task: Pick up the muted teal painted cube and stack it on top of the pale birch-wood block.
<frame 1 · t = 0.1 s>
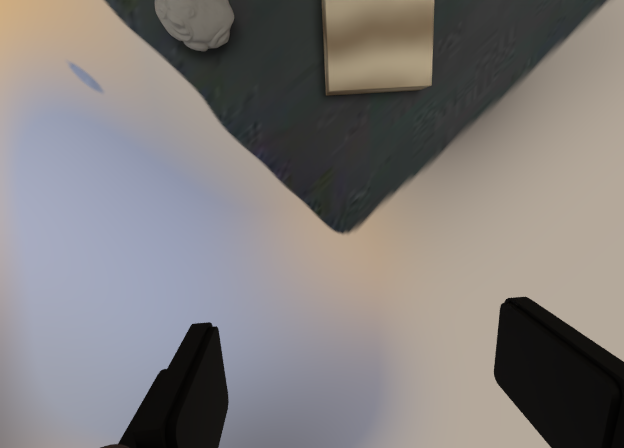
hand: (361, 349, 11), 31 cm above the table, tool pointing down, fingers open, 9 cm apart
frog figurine: (209, 29, 36), on the table
birch block: (371, 41, 37), on the table
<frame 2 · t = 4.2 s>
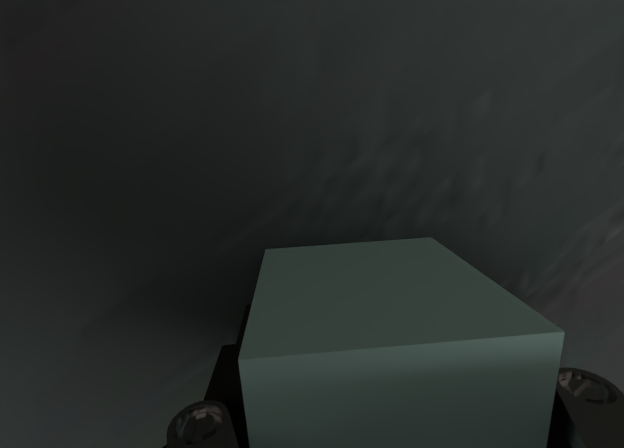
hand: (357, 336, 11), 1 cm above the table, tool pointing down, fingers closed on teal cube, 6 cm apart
teal cube: (351, 317, 12), on the table, touching gripper
when the fingers open (7 cm above the table, at t = 10.7 s): teal cube drops 2 cm, resting on birch block.
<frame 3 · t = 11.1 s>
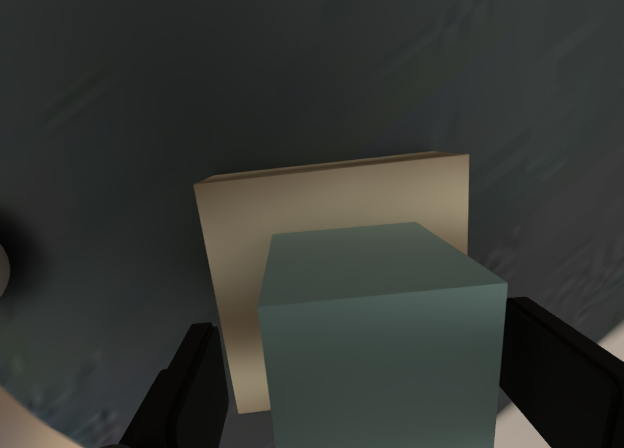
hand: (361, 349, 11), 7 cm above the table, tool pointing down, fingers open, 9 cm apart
teal cube: (348, 293, 14), point 3 cm above the table, touching birch block
birch block: (333, 262, 18), on the table, touching teal cube
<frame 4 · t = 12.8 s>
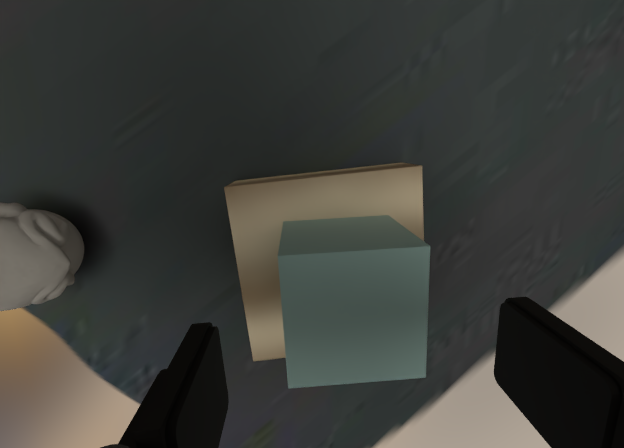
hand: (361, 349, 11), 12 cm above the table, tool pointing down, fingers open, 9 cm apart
teal cube: (337, 267, 19), point 4 cm above the table, touching birch block
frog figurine: (59, 238, 22), on the table
birch block: (326, 248, 23), on the table, touching teal cube
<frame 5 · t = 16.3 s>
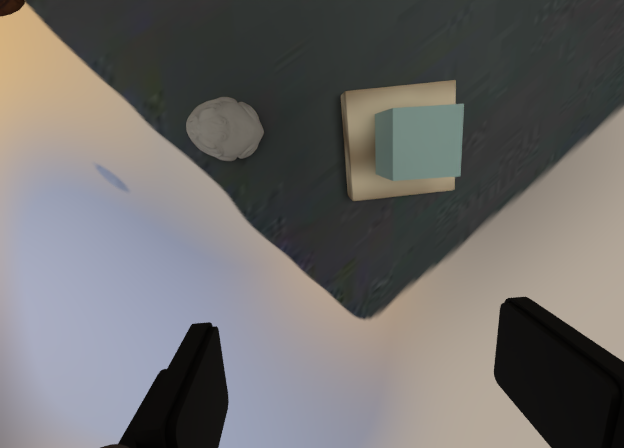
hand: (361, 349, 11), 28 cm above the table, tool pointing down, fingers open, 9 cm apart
teal cube: (404, 142, 33), point 4 cm above the table, touching birch block
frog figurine: (235, 130, 36), on the table
birch block: (391, 142, 37), on the table, touching teal cube
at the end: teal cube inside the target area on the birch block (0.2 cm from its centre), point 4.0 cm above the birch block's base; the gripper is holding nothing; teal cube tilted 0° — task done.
